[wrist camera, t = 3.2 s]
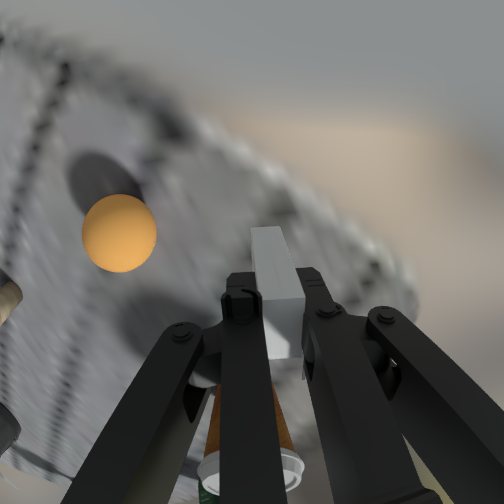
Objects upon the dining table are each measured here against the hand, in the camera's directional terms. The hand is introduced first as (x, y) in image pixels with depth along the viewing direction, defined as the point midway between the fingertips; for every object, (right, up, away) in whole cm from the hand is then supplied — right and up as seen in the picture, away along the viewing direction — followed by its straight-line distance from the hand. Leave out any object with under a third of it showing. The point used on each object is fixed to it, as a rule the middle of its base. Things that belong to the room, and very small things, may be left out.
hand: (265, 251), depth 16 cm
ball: (-10, +1, +4) cm, 11 cm away
